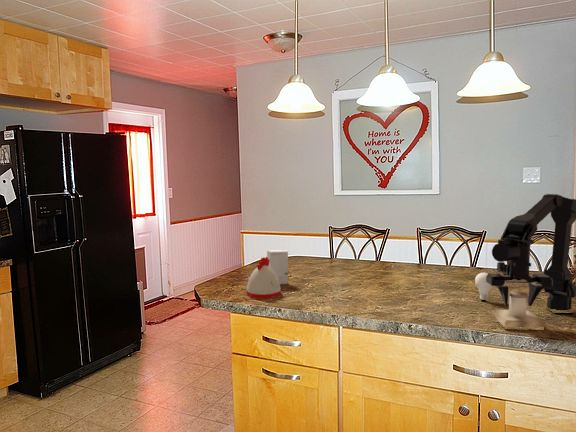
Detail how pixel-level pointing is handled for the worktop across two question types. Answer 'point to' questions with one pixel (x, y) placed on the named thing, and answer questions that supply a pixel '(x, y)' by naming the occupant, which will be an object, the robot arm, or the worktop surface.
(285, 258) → the skincare box
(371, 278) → the worktop surface
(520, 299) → the spice tin
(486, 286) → the lightbulb
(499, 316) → the block
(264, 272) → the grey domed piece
